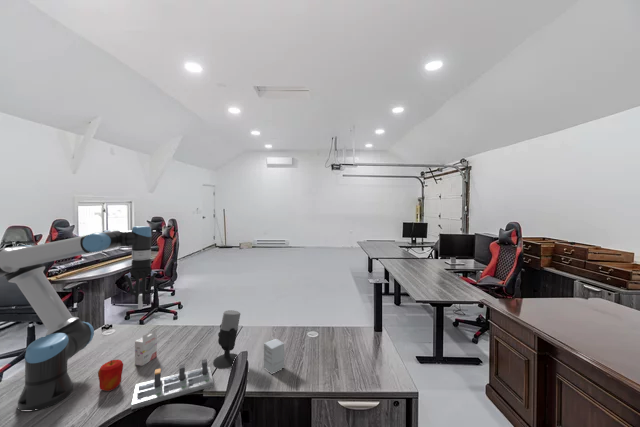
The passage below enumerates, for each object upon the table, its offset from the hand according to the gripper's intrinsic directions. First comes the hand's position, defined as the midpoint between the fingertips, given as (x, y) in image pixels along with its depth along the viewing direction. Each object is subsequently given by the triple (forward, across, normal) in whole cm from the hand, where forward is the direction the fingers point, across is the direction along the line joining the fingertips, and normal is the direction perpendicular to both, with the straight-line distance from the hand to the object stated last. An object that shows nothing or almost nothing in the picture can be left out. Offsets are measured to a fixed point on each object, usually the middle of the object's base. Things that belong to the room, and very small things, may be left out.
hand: (140, 308), depth 122 cm
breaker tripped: (+27, +9, -21) cm, 36 cm away
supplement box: (+30, +57, -28) cm, 70 cm away
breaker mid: (+27, +17, -21) cm, 39 cm away
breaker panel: (+29, +15, -22) cm, 39 cm away
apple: (+30, -9, -9) cm, 32 cm away
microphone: (+30, +38, -11) cm, 49 cm away
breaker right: (+27, +26, -21) cm, 44 cm away
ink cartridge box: (+30, +2, +8) cm, 31 cm away
